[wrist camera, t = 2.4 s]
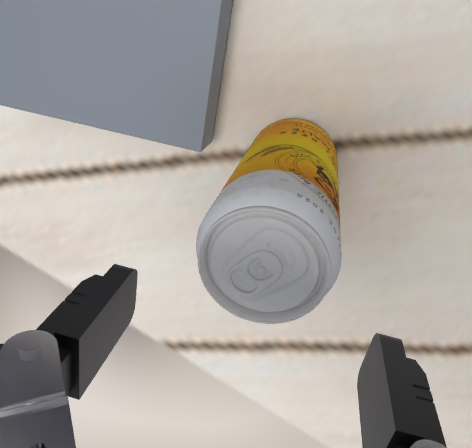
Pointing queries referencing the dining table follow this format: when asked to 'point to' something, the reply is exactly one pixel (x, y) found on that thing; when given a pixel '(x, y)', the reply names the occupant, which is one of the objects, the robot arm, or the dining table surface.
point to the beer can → (275, 227)
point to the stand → (118, 64)
